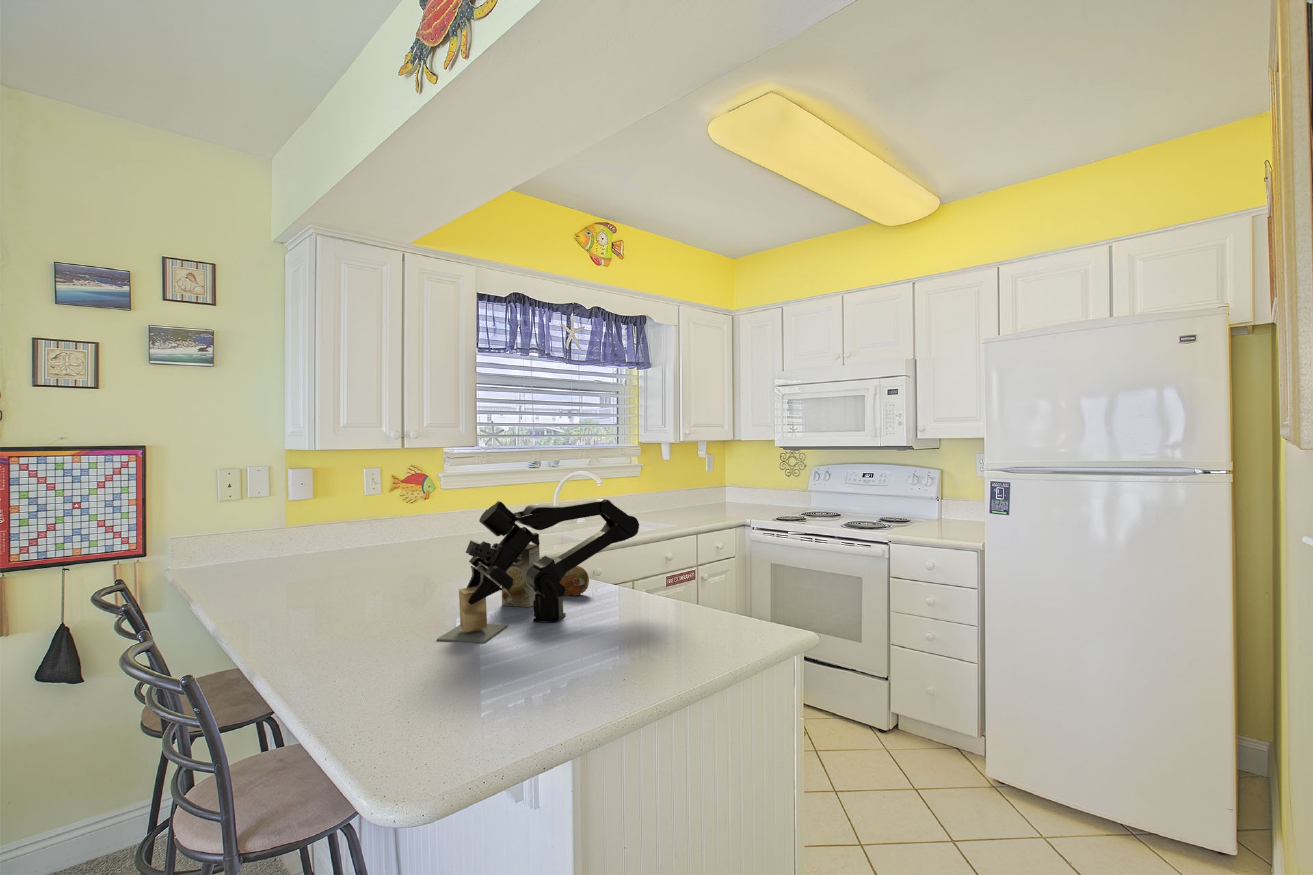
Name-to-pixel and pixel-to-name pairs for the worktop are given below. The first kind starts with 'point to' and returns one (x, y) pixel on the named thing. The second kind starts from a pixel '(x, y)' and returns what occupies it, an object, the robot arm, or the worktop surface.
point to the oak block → (472, 611)
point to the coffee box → (521, 579)
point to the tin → (575, 581)
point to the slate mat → (472, 634)
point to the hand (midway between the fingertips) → (466, 600)
